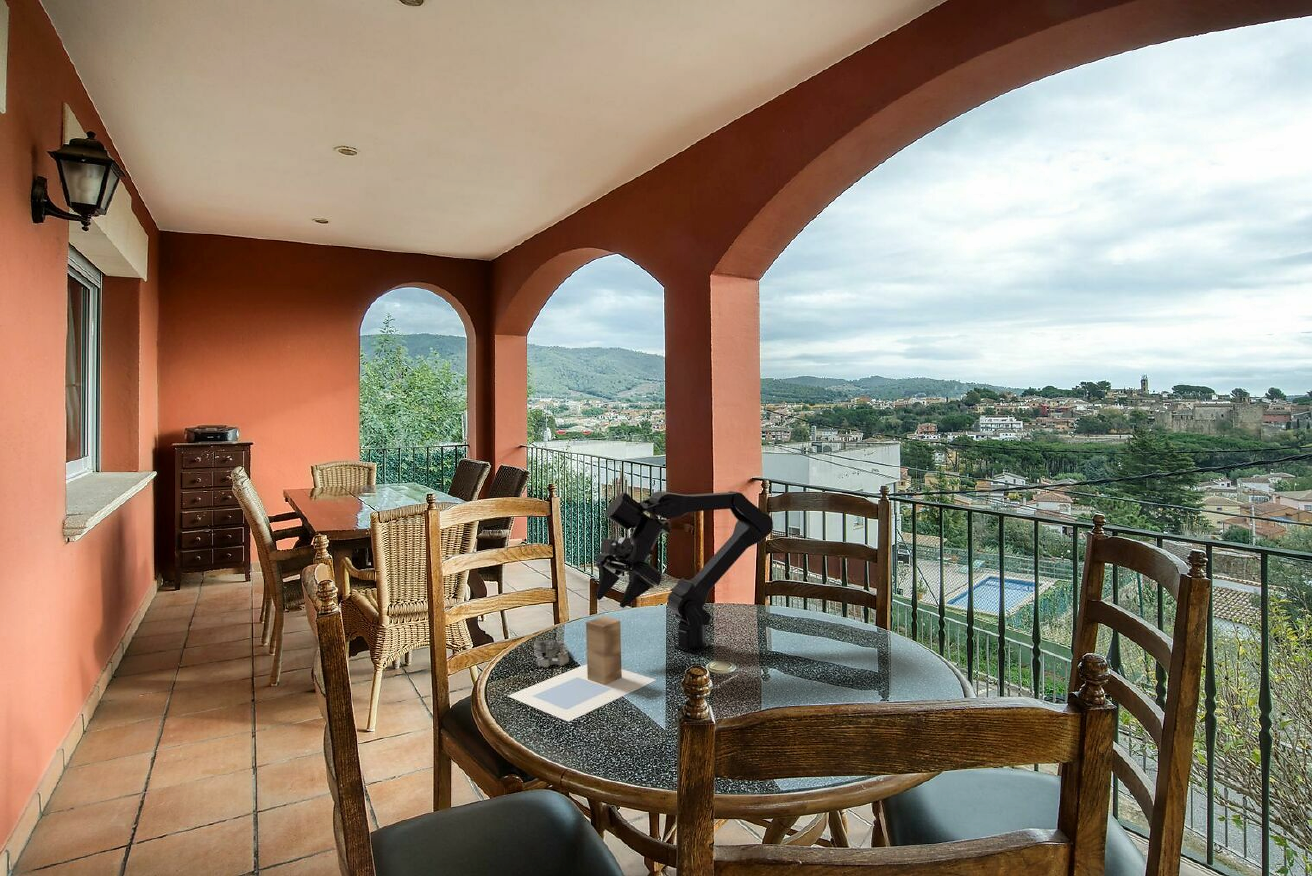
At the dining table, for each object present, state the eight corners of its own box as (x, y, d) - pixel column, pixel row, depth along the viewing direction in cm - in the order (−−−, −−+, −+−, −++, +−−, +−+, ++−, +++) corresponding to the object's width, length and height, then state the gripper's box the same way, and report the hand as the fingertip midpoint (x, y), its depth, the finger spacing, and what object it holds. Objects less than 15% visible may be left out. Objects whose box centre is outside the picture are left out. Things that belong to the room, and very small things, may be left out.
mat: (595, 662, 153) (595, 660, 153) (656, 682, 141) (656, 680, 141) (507, 698, 135) (507, 695, 135) (568, 724, 123) (568, 721, 123)
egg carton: (569, 669, 151) (569, 650, 150) (535, 672, 149) (534, 653, 149) (567, 652, 161) (566, 634, 161) (534, 654, 160) (533, 637, 160)
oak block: (604, 672, 146) (603, 616, 146) (621, 677, 143) (620, 620, 142) (587, 679, 142) (586, 622, 142) (604, 685, 139) (603, 626, 139)
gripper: (595, 518, 159) (561, 578, 153) (643, 526, 144) (607, 592, 138) (627, 543, 164) (595, 602, 159) (677, 552, 149) (644, 618, 144)
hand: (609, 603), depth 150 cm, fingers open, 9 cm apart
